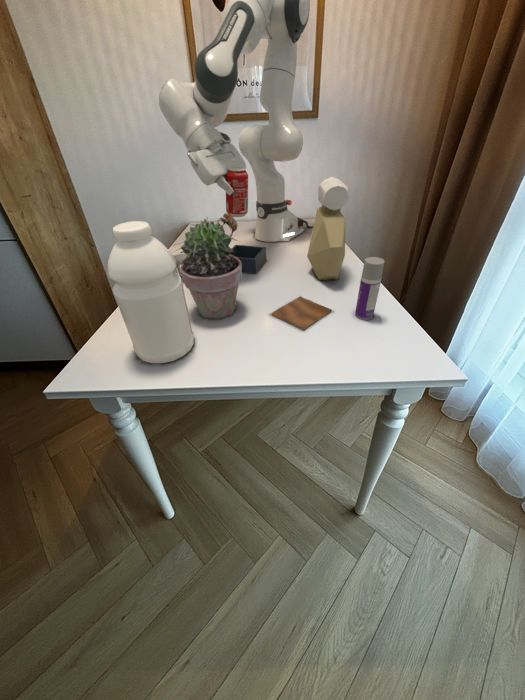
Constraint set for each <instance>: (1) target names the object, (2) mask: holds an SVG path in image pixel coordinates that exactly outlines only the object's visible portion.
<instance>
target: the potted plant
mask: <svg viewBox="0 0 525 700" xmlns="http://www.w3.org/2000/svg"><path fill="white" fill-rule="evenodd" d="M208 219H209V217H208V216H206V218H204V219H203V221H202V220H200V223H196V224H194V226H192V224H190V226H189V231H187V232H184V236H185V239H184V241H183V242H180V243H178V245H180V244H182V243H183V244H182V245H181V246H180V248H177V249H176V250H174V251H173V253H174V252H178V251H180V250H181V251H182V252H180V253H183V252H184V253H186V254H187V256H186V258H185V259H184V260H182V259H181V260H182V261H183V262H182V263H183V264H182V263H181V264H182V265H181V264H179V265H180V272H181V276H180V277H181V279H182V283H183V285H185V287H186V288H187V289H188V291H189V293H190V294H191V296H192V299H193V301H194V303H195V305H196V308H197V309H198V311H199V313H200V315H201V316H202V317H203V318H206V319H210V320H218V319H224V318H226V317H229V316H231V315H232V314H233V313H234V312H235V310H236V309H235V308H236V304H237V297H238V290H239V285H240V282H241V281H242V273H243V272H242V263H241V261H240V260H239V259H238V258H237V257H235V256H233V255H229V254H231V253H235V252H233V251H235V250H232V248H233V247H234V246H235V245H233V246H232V248H231V247H230V244H231V242H232V241H235V242H236V239H235V238H234V237H233V234H234V232H236V231H237V229H238V223H237V220H236V219H235V217H233V216H232V214H231V213H227V212H225V213H223V215H222V217H220V218H218V219H217V220H216V223H214V221H210V222H209V221H208ZM220 222H222V223H223V224H221V223H220ZM225 224H226V225H227V226H228V227H229V229H230V231H229V232H231V233H230V234H227V233H226V232H225V229H224V226H225ZM238 242H239V243H240V242H241V241H239V240H238ZM176 245H177V243H175V244H173V245H171V247H172V246H176ZM179 265H178V266H179ZM178 266H177V267H178ZM177 267H176V268H177ZM244 271H245V270H244Z"/></svg>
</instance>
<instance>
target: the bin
mask: <svg viewBox="0 0 525 700" xmlns="http://www.w3.org/2000/svg"><path fill="white" fill-rule="evenodd" d="M233 246H234V247H233ZM233 246H232V250H235V251H233V252H235V253H231V254H229V255H233V256H235V257H237V258H238V259H239V260H240V261H241V263H242V273H244V274H245V273H246V274H252V275H257V274H258V272H259V271H260V269H261V268H262V267H263V266H264V264H265V263H266V262H267V246H259V245H258V246H256V245H243V244H234V245H233ZM244 270H245V271H244Z"/></svg>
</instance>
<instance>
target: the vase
mask: <svg viewBox="0 0 525 700" xmlns="http://www.w3.org/2000/svg"><path fill="white" fill-rule="evenodd" d="M317 197H318V198H317V199H318V201H319V203H320V204H321V206H318V207H317V208H316V213H315V217H314V222H313V225H312V226H313V228H312V230H311V237H310V240H309V246H308V251H307V255H306V257H307V259H308V261H309V263H310V265H311V267H312V270H313V271H314V273H315V275H316V278H317V279H318V280H320V281H327V280H329V281H330V280H331V281H332V280H337V279H338V278H339V276H340V272H341V269H342V266H343V263H344V260H345V256H346V221H347V218H346V217H345V216H344V215H343V214H342V212H341V210H342V209H343V207H345V206H346V205H347V203H348V201H349V187H348V186H347V185H346V184H345V183H344V182H343V181H342V180H341V179H339V178H336V177H335V176H330V177H328V178H326V179H324V180H323V181H321V183H320V184H319V185H318V188H317Z"/></svg>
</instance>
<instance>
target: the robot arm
mask: <svg viewBox="0 0 525 700" xmlns="http://www.w3.org/2000/svg"><path fill="white" fill-rule="evenodd" d="M310 5H311V3H310V0H228V2H227V5H226V8H225V11H224V14H223V19H222V24H221V26H220V28H219V30H218V32H217V34H216V36H215V38H214V39H213V40H212V41H211V42H210V43H209V44H208V45H207V46H205V47H204V48H203V49H202V50H201V51H200V52H199V53H198V54H197V56H196V58H195V63H194V82H186V81H185V82H184V81H180V80H178V79H176V78H174V77H172V78H169V79H168V80H167V81H166V82H165V83H164V84H163V86H162V87H161V89H160V91H159V96H158V105H159V106H158V107H159V109H160V111H161V112H162V115H163V117H164V119H165V120H166V121H167V122H168V124H169V126H170V127H171V128H172V130H173V131H174V133H175V134H176V135H177V136H179V137H180V139H182V141H183V143H184V146H185V148H186V149H187V152H186V153H187V155H186V156H187V157H188V159H189V161H190V165H191V167H192V169H193V170H194V172H195V173H196V174H195V175H197V177H198V178H199V180H200V182H201V183H202V184H204V185H205V186H211V185H214V184H216V185H217V186H218V187H219V188H221V189H222V190H224V192H225V193H226V192H227V194H228V195H232V194H233V193H234V192H235V189H234V188H233V186H232V185H229V184H228V183H227V182H226V181H225V180H226V179H225V175H226V174H227V173H228V169H231V168H232V167H242V168H245V169H246V170H247V164H246V162H245V160H244V158H245V159H246V160H247V162H248V164H249V166H250V168H251V170H252V172H253V175H254V180H255V189H256V202H255V207H256V209H255V210H256V221H255V223H256V224H255V225H256V226H255V230H254V233H255V234H254V238H255V240H258V241H261V242H268V243H269V242H270V243H273V242H274V243H275V242H288V241H290V240H292V239H294V238H296V237H297V236H299V235H300V234H302V233H304V228H303V227H304V224H305V227H306V228H307V229H313V226H314V225H311V226H310V225H309V222H308V221H307V220H304V219H303V218H300V217H297V216H296V215H295V214H294V213H293V212H291V210H290V209H289V208H288V206H292V204H293V202H292V200H291V199H285V198H286V197H285V196H286V195H285V194H286V193H285V191H286V190H285V187H286V186H285V184H286V183H285V182H286V181H285V178H284V176H283V175H282V173H280V172H279V171H278V169H277V168H276V166H275V162H283V163H284V162H290V161H295V160H296V159H298V157H299V156H300V155H301V152H302V150H303V147H304V139H303V134H302V132H301V130H300V129H299V127H298V126H297V124H296V122H295V120H294V116H293V108H292V107H293V104H292V103H293V94H294V87H295V80H296V73H297V62H298V61H297V59H298V45H297V44H298V43H297V42H299V40H300V39H301V36H302V34H303V32H304V31H305V29H306V27H307V24H308V21H309V17H310V11H311V9H310V7H311V6H310ZM261 40H267V47H266V50H265V51H266V52H265V56H264V61H263V67H262V74H261V83H260V93H259V103H260V105H261V107H262V108H263V109H264V110H265V111H266V112H267V113H268V124H253V125H249V126H247V127H244V128H243V129H241V131H240V134H239V137H238V149H239V151H238V149H237V148H236V147H235V145H233V143H232V138H231V137H230V136H229V135H228V134H226V133H224V132H221V131H220V130H219V129H217V127H219V126H220V125H222V124H223V123H224V122H225V120H226V118H227V117H228V116H227V115H228V112H229V109H230V105H231V102H232V98H233V94H234V91H235V89H236V86H237V82H238V76H239V71H238V69H239V68H238V60H239V58H240V56H241V55H251V54H252V53H253V52H254V51H255V50H256V49H257V47H258V45H259V44H260V42H261ZM240 153H241V154H240ZM242 156H243V157H244V158H243V157H242ZM227 168H228V169H227Z"/></svg>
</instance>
